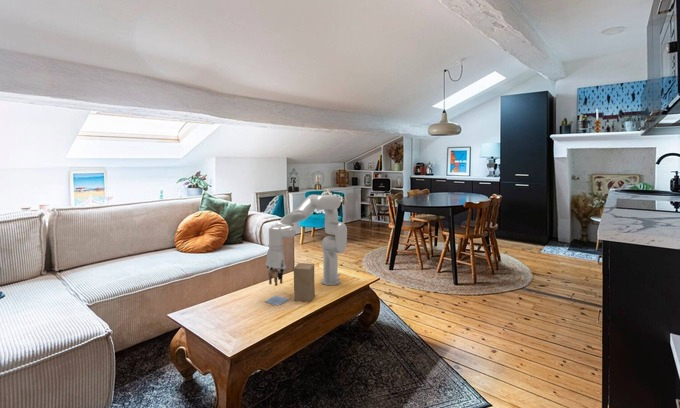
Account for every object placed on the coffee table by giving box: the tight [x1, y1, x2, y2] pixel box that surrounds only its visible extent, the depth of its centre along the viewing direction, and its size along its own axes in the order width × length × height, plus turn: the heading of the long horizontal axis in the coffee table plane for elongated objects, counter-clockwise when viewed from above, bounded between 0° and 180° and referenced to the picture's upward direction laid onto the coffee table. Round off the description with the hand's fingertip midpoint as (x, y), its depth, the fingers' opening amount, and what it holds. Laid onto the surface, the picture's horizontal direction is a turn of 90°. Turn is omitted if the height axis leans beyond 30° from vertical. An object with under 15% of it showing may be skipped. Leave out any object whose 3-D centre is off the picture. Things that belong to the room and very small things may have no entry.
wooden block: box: [293, 262, 316, 302], centre depth 207 cm, size 10×10×20 cm
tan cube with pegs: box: [267, 268, 283, 287], centre depth 201 cm, size 6×6×8 cm
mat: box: [264, 295, 290, 307], centre depth 204 cm, size 10×10×1 cm
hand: (275, 277), depth 202 cm, fingers closed on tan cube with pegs, 6 cm apart
